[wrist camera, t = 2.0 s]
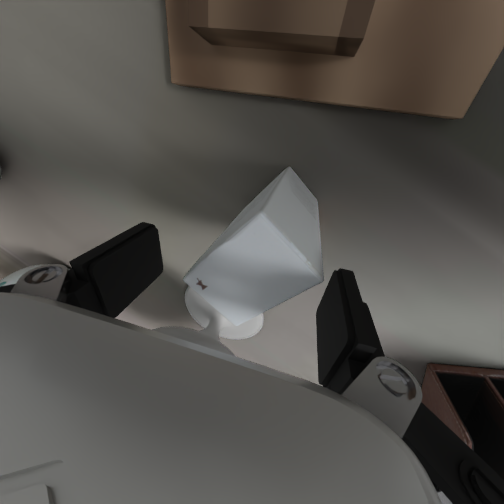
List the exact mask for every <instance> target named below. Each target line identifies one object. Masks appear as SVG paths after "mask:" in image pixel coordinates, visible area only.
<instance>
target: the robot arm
mask: <svg viewBox="0 0 504 504" xmlns="http://www.w3.org/2000/svg"><path fill="white" fill-rule="evenodd" d="M70 264H71V267H72V269H70V270H68V269H67V267H66V266H64V265H62V264H48V265H43V266H40V267H36V268H34V269H32V270H29V271H27V272H26V273H24V274H23V275H22V276H21V277H20V278H19V280H18V281H17V283H16V284H11V285H6V286H1V287H0V504H504V480H503V479H502V478H501V477H500V476H499V475H498V474H497V473H496V472H495V471H494V470H493V469H492V468H491V467H490V466H489V465H488V464H487V463H486V462H485V461H484V460H483V459H481V458H480V457H479V456H478V455H477V454H476V453H475V452H474V451H473V450H472V449H471V448H470V447H469V446H468V445H467V444H466V443H465V442H463V441H462V440H461V439H460V438H459V437H458V436H457V435H456V434H455V433H454V432H453V431H452V430H451V429H450V428H449V427H448V426H446V425H445V424H444V423H443V422H442V421H441V420H440V419H439V418H438V417H437V416H436V415H435V414H434V413H433V412H432V411H431V410H429V409H428V408H427V407H426V406H425V405H424V404H423V403H422V402H421V401H422V396H423V395H422V390H421V387H420V385H419V383H418V381H417V380H416V378H415V377H414V376H413V375H412V373H411V372H410V371H409V370H408V369H406V368H405V367H404V366H403V365H401V364H400V363H399V362H397V361H395V360H393V359H391V358H387V357H385V356H384V353H383V350H382V347H381V344H380V341H379V338H378V335H377V332H376V329H375V326H374V323H373V320H372V317H371V314H370V311H369V308H368V306H367V304H366V303H364V302H363V301H362V298H361V295H360V292H359V289H358V285H357V282H356V279H355V276H354V273H353V271H349V270H345V269H341V268H340V269H339V270H338V271H336V270H335V271H334V272H333V274H332V276H331V279H330V281H329V283H328V286H327V288H326V290H325V292H324V295H323V297H322V299H321V302H320V304H319V306H318V309H317V313H316V325H317V352H318V379H319V384H321V385H323V387H322V386H320V385H317V384H315V383H312V382H310V381H307V380H304V379H301V378H298V377H295V376H293V375H290V374H287V373H284V372H281V371H278V370H275V369H272V368H269V367H266V366H263V365H260V364H257V363H254V362H251V361H248V360H245V359H241V358H238V357H235V356H232V355H229V354H226V353H223V352H220V351H217V350H213V349H210V348H207V347H204V346H201V345H198V344H195V343H191V342H188V341H185V340H182V339H179V338H176V337H173V336H169V335H166V334H163V333H160V332H157V331H153V330H150V329H147V328H144V327H141V326H138V325H134V324H131V323H128V322H125V321H121V320H118V319H115V317H117V316H118V315H119V314H120V313H121V312H122V311H123V310H124V309H125V308H126V307H127V306H128V305H129V304H130V303H131V302H132V301H133V300H134V299H135V298H136V297H137V296H139V295H140V294H141V293H142V292H143V291H144V290H145V289H146V288H147V287H148V286H149V285H150V284H151V283H152V282H153V281H154V280H155V279H156V278H157V277H158V276H159V275H160V274H161V273H162V272H163V262H162V255H161V248H160V241H159V234H158V229H157V228H156V227H155V225H153V224H149V223H145V222H142V223H140V224H138V225H136V226H134V227H132V228H130V229H128V230H127V231H125V232H123V233H121V234H119V235H117V236H116V237H114V238H112V239H110V240H108V241H106V242H105V243H103V244H101V245H99V246H97V247H95V248H94V249H92V250H90V251H88V252H86V253H84V254H82V255H81V256H79V257H77V258H75V259H73V260H71V261H70Z"/></svg>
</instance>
